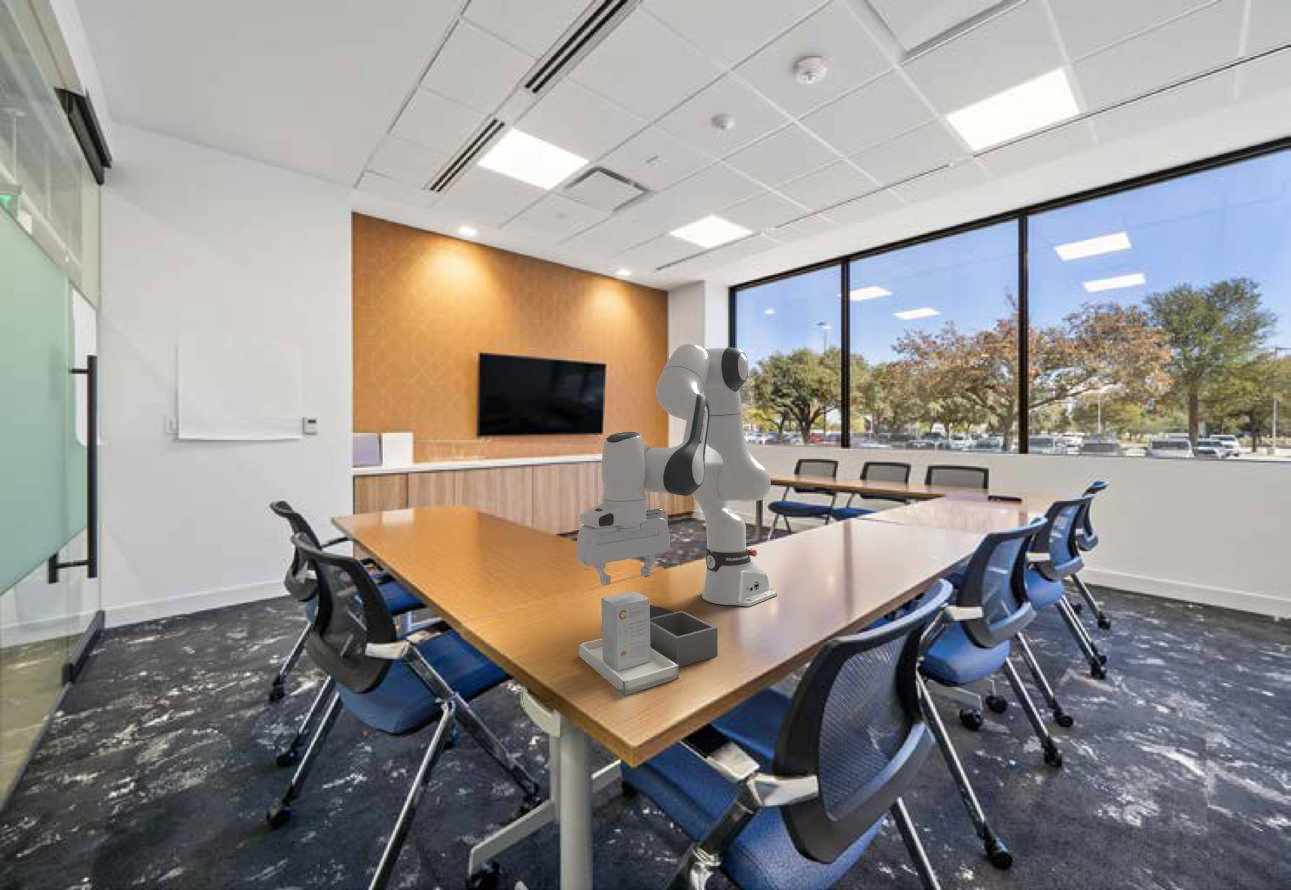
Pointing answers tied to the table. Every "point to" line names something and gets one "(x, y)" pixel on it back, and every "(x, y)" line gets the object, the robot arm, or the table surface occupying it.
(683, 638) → the box
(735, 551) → the robot arm
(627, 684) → the tray
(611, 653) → the small box
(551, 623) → the table surface
